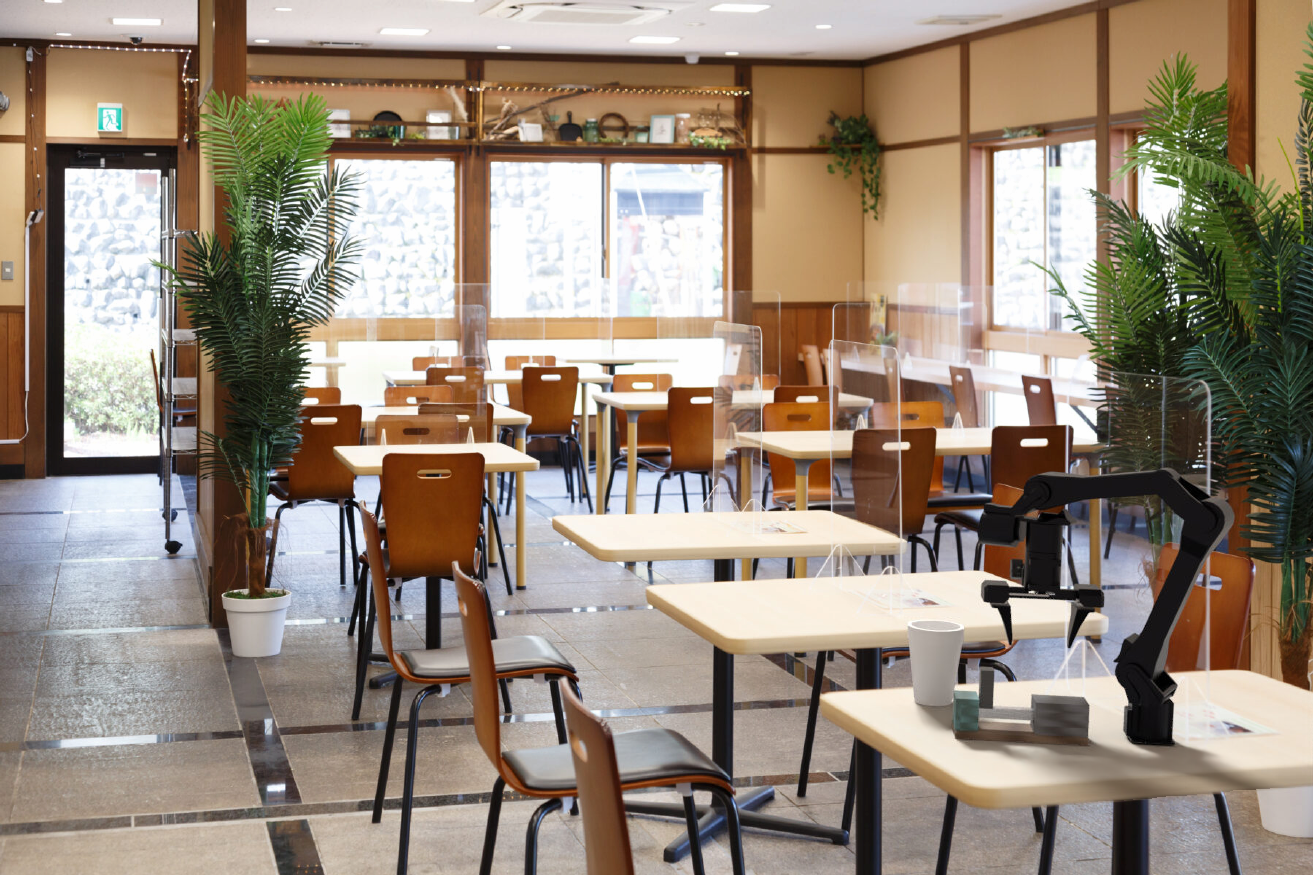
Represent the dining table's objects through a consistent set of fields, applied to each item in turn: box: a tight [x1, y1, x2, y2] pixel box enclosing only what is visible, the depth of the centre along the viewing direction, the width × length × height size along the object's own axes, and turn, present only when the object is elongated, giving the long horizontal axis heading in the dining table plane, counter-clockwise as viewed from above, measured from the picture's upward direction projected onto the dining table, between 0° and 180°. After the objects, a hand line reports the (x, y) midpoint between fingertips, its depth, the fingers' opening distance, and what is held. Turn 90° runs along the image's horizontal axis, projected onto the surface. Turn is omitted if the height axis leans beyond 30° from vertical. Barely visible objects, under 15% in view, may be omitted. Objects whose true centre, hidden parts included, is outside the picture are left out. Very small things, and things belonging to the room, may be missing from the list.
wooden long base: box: [951, 689, 1090, 747], centre depth 222 cm, size 20×7×6 cm, turn 83°
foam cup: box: [906, 619, 965, 707], centre depth 241 cm, size 10×9×13 cm
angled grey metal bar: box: [978, 666, 1034, 721], centre depth 222 cm, size 13×2×8 cm, turn 83°
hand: (1039, 646), depth 231 cm, fingers open, 9 cm apart
